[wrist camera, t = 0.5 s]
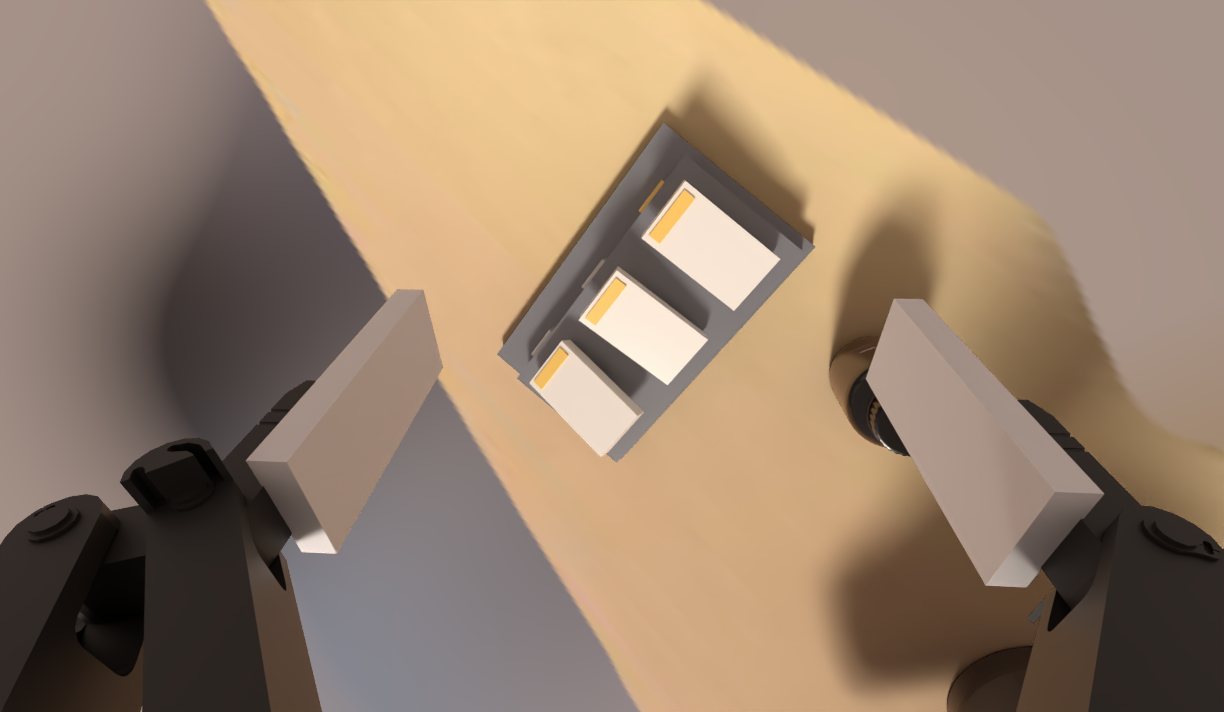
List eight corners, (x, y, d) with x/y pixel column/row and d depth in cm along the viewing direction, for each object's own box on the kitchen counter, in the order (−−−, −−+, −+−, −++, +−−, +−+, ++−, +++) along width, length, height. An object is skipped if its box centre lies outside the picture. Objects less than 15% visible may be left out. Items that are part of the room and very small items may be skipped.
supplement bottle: (875, 317, 42) (927, 349, 31) (931, 376, 42) (1003, 428, 31) (809, 370, 45) (835, 417, 33) (863, 425, 45) (906, 491, 33)
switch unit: (812, 246, 42) (823, 248, 37) (624, 452, 51) (611, 478, 45) (666, 126, 43) (656, 111, 37) (503, 351, 51) (477, 364, 46)
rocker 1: (705, 333, 41) (708, 340, 39) (666, 377, 42) (667, 385, 41) (618, 266, 39) (616, 270, 38) (581, 314, 41) (578, 320, 39)
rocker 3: (775, 255, 38) (780, 259, 37) (730, 305, 40) (734, 311, 38) (683, 180, 37) (685, 180, 35) (641, 235, 38) (641, 238, 37)
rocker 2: (644, 411, 42) (636, 416, 40) (608, 452, 43) (599, 457, 42) (570, 339, 44) (560, 340, 42) (538, 380, 45) (528, 383, 44)
